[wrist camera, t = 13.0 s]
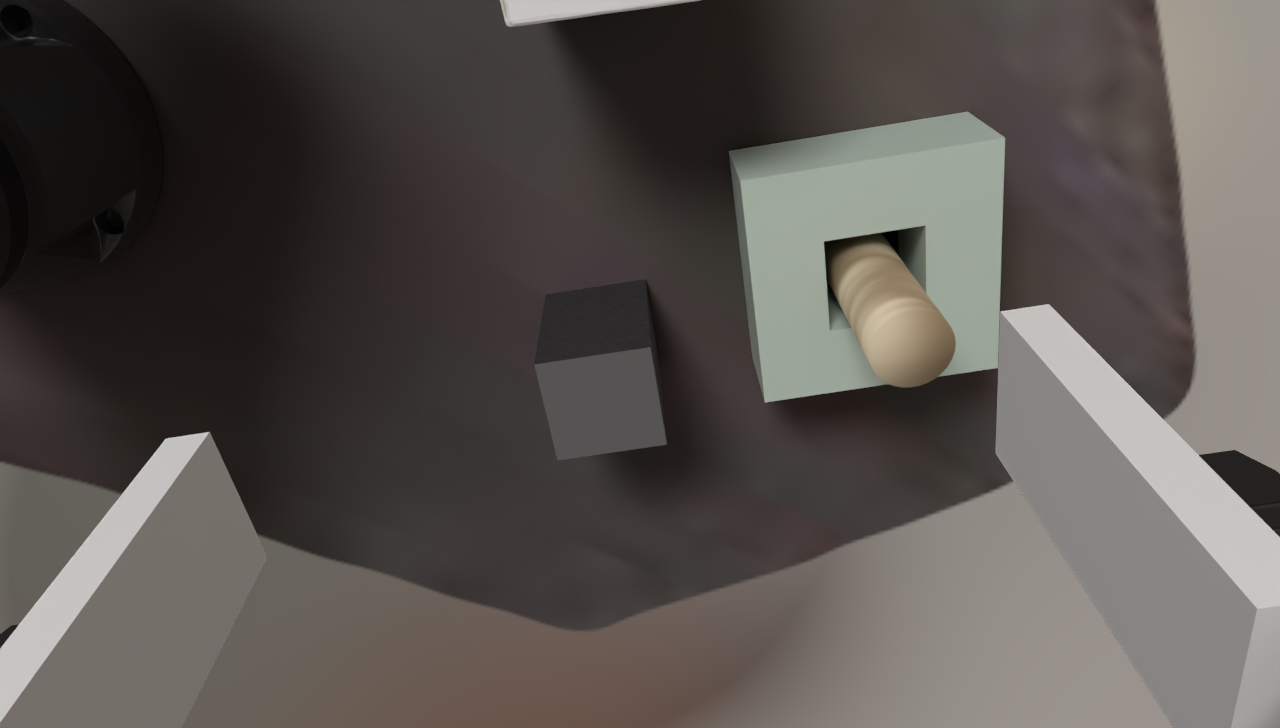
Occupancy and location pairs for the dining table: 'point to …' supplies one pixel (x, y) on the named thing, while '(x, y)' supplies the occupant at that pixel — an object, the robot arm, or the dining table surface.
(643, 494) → the dining table surface
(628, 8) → the ink box
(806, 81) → the dining table surface
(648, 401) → the dark grey block
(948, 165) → the socket block
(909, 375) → the birch dowel
